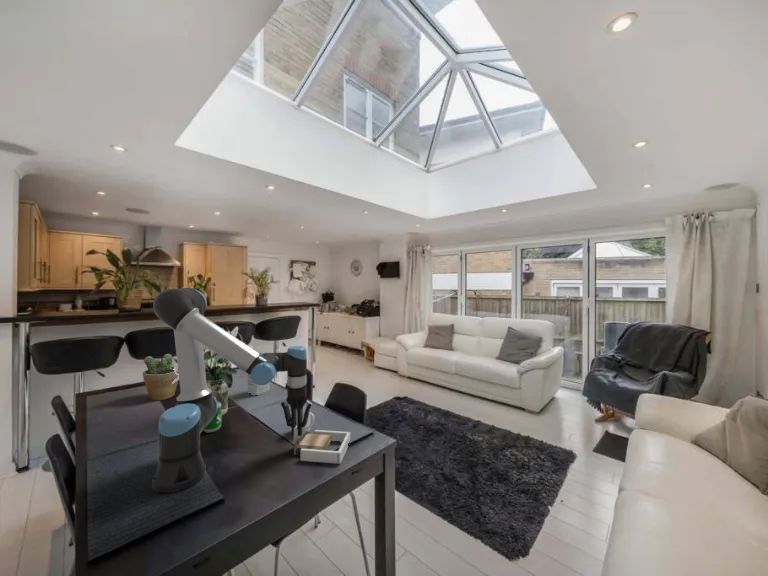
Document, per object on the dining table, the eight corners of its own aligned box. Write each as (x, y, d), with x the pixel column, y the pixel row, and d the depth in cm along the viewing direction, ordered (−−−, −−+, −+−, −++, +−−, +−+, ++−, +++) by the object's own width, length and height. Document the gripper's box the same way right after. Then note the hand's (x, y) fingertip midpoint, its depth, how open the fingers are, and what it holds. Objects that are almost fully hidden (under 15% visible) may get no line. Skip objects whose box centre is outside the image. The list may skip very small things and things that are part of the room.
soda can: (213, 434, 136) (213, 407, 136) (198, 432, 137) (198, 405, 137) (225, 426, 143) (225, 400, 143) (211, 425, 145) (211, 399, 145)
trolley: (293, 455, 120) (293, 442, 120) (303, 442, 130) (303, 429, 130) (323, 457, 118) (323, 444, 118) (331, 444, 129) (331, 431, 128)
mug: (288, 432, 138) (288, 408, 138) (302, 425, 145) (303, 403, 145) (306, 440, 131) (306, 415, 131) (320, 433, 137) (320, 409, 137)
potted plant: (162, 390, 191) (162, 350, 191) (189, 392, 188) (189, 351, 188) (134, 401, 173) (134, 357, 172) (163, 403, 170) (163, 358, 170)
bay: (340, 463, 114) (340, 453, 114) (300, 460, 116) (300, 450, 116) (350, 441, 130) (350, 432, 130) (315, 439, 132) (315, 429, 132)
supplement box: (256, 396, 182) (256, 368, 182) (247, 393, 187) (247, 365, 187) (270, 391, 190) (270, 364, 190) (261, 389, 195) (261, 362, 195)
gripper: (315, 383, 127) (315, 439, 128) (285, 381, 129) (285, 437, 129) (309, 389, 120) (308, 449, 120) (277, 387, 122) (277, 446, 122)
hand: (296, 443), depth 125 cm, fingers closed
